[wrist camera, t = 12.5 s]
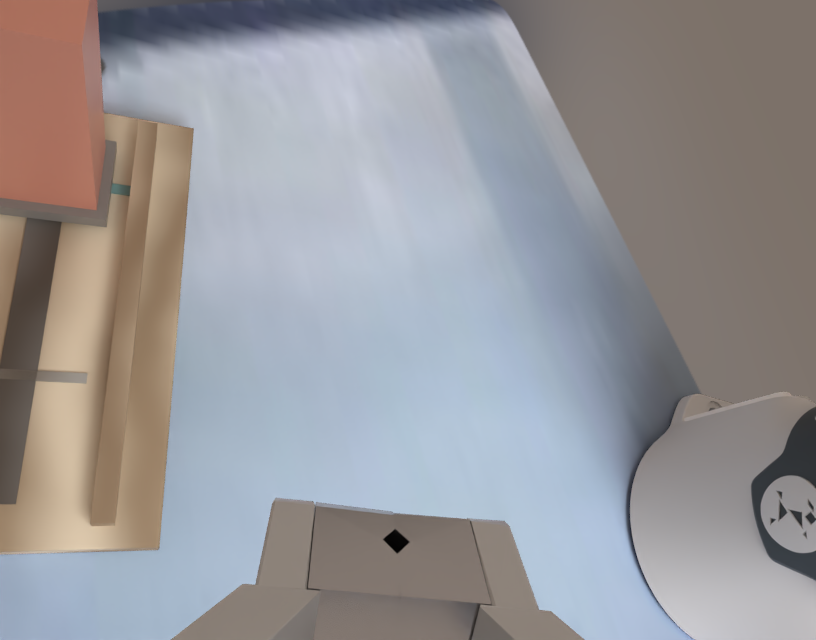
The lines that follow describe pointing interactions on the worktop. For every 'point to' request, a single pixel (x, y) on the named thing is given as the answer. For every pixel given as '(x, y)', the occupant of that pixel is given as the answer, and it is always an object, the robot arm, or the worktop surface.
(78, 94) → the salmon orange rectangular block
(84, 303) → the tan flat ridged board
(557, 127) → the worktop surface
